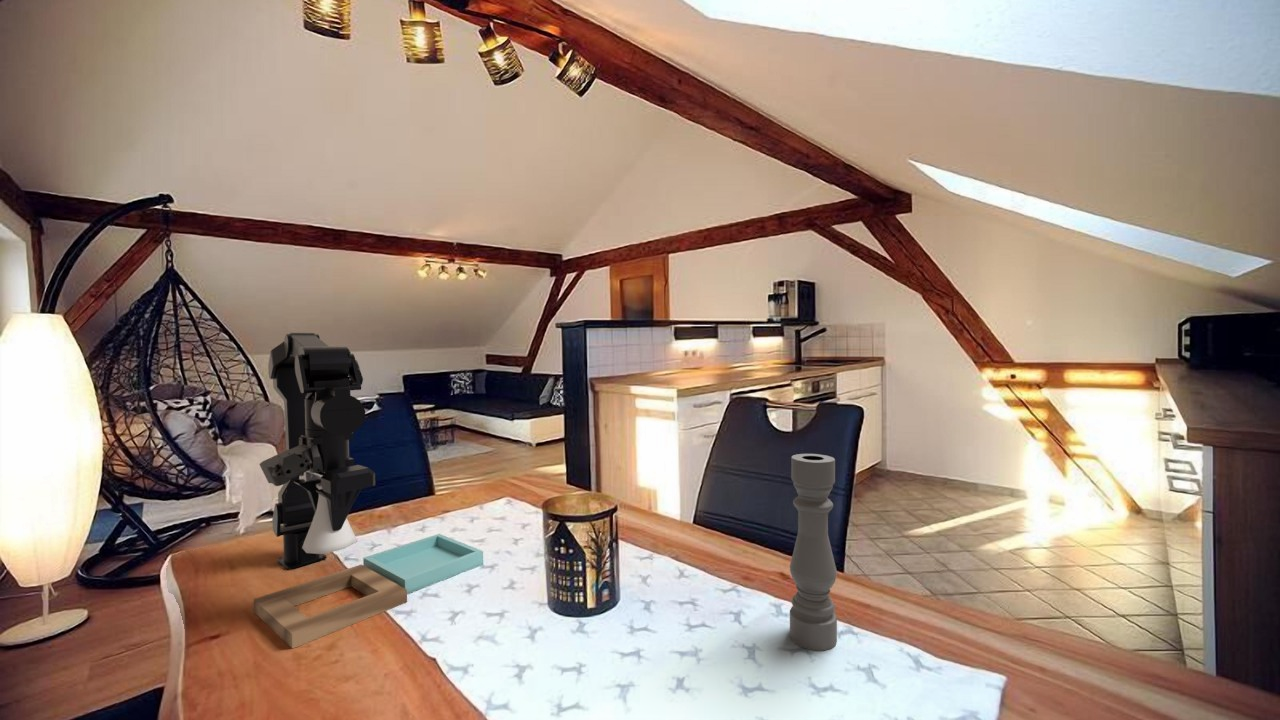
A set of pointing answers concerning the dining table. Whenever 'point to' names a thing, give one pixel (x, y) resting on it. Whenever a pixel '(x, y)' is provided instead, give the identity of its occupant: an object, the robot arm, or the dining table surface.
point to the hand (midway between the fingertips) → (329, 526)
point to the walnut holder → (302, 629)
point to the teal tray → (424, 561)
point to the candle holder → (813, 554)
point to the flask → (326, 532)
